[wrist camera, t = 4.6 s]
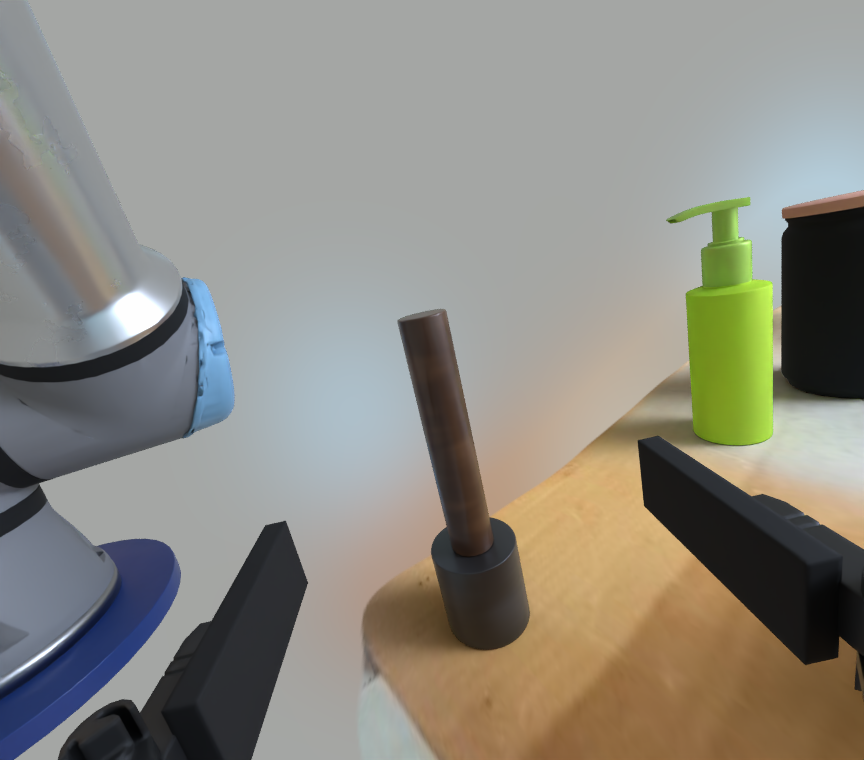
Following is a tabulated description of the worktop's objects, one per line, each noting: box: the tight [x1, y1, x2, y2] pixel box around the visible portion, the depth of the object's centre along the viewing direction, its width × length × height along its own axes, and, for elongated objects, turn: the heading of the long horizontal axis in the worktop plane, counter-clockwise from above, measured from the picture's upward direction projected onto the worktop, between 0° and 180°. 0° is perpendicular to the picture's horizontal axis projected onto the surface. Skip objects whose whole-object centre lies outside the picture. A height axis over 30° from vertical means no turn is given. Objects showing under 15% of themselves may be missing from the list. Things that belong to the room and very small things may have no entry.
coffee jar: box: [781, 190, 864, 398], centre depth 40 cm, size 11×11×18 cm
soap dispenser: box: [666, 197, 773, 445], centre depth 36 cm, size 6×7×20 cm
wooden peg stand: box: [398, 309, 530, 650], centre depth 22 cm, size 5×5×18 cm
